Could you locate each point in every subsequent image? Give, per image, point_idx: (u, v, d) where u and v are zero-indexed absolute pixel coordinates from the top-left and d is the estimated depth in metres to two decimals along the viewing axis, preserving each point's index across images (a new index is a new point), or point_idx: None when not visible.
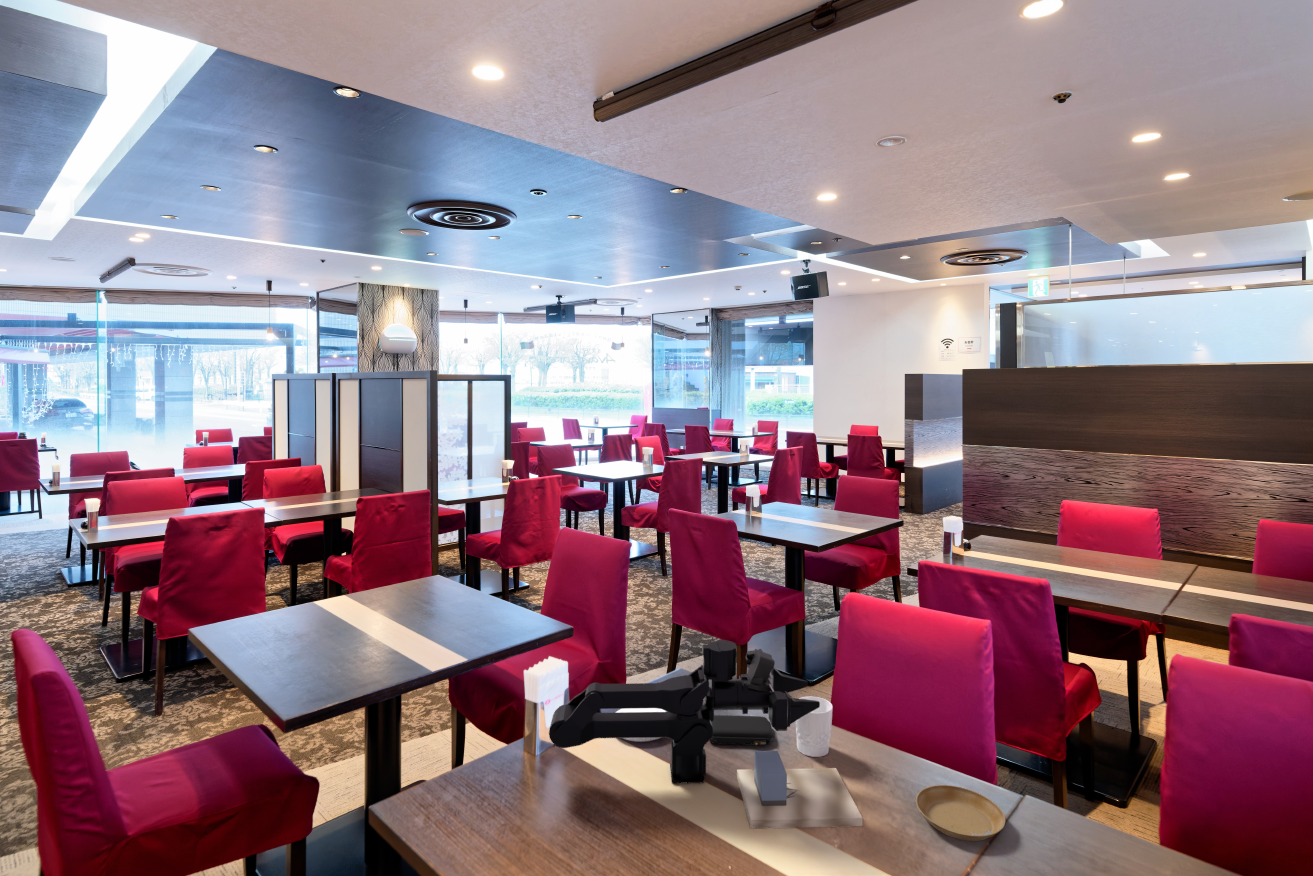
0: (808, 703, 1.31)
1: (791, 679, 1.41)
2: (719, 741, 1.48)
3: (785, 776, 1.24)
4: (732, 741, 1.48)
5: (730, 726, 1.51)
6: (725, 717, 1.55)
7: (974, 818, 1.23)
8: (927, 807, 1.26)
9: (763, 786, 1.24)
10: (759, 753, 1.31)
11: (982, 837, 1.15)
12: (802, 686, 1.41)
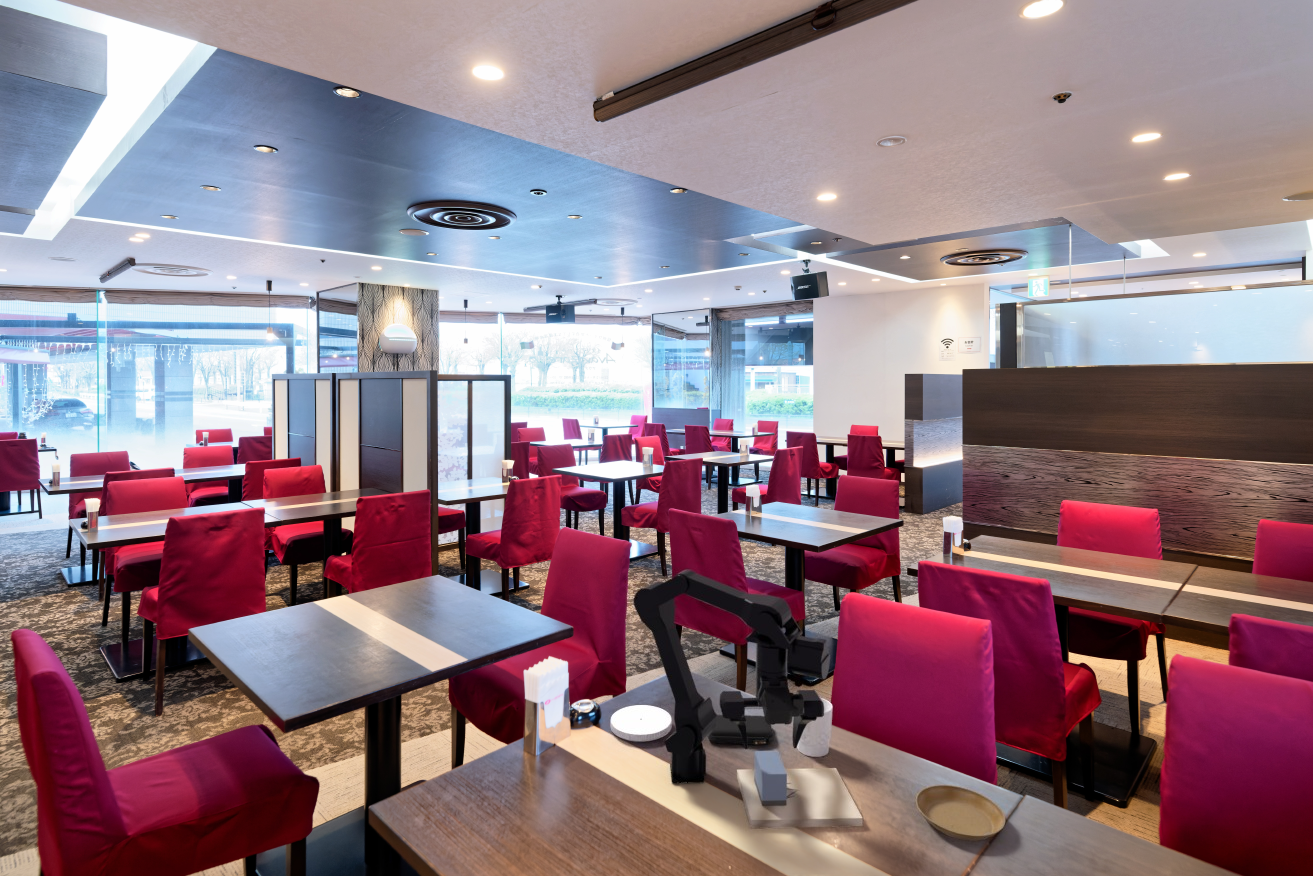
0: (742, 737, 1.27)
1: (796, 732, 1.27)
2: (719, 741, 1.48)
3: (785, 776, 1.24)
4: (732, 740, 1.48)
5: (730, 725, 1.52)
6: None
7: (974, 818, 1.23)
8: (927, 807, 1.26)
9: (763, 786, 1.24)
10: (759, 753, 1.31)
11: (982, 837, 1.15)
12: (793, 740, 1.28)
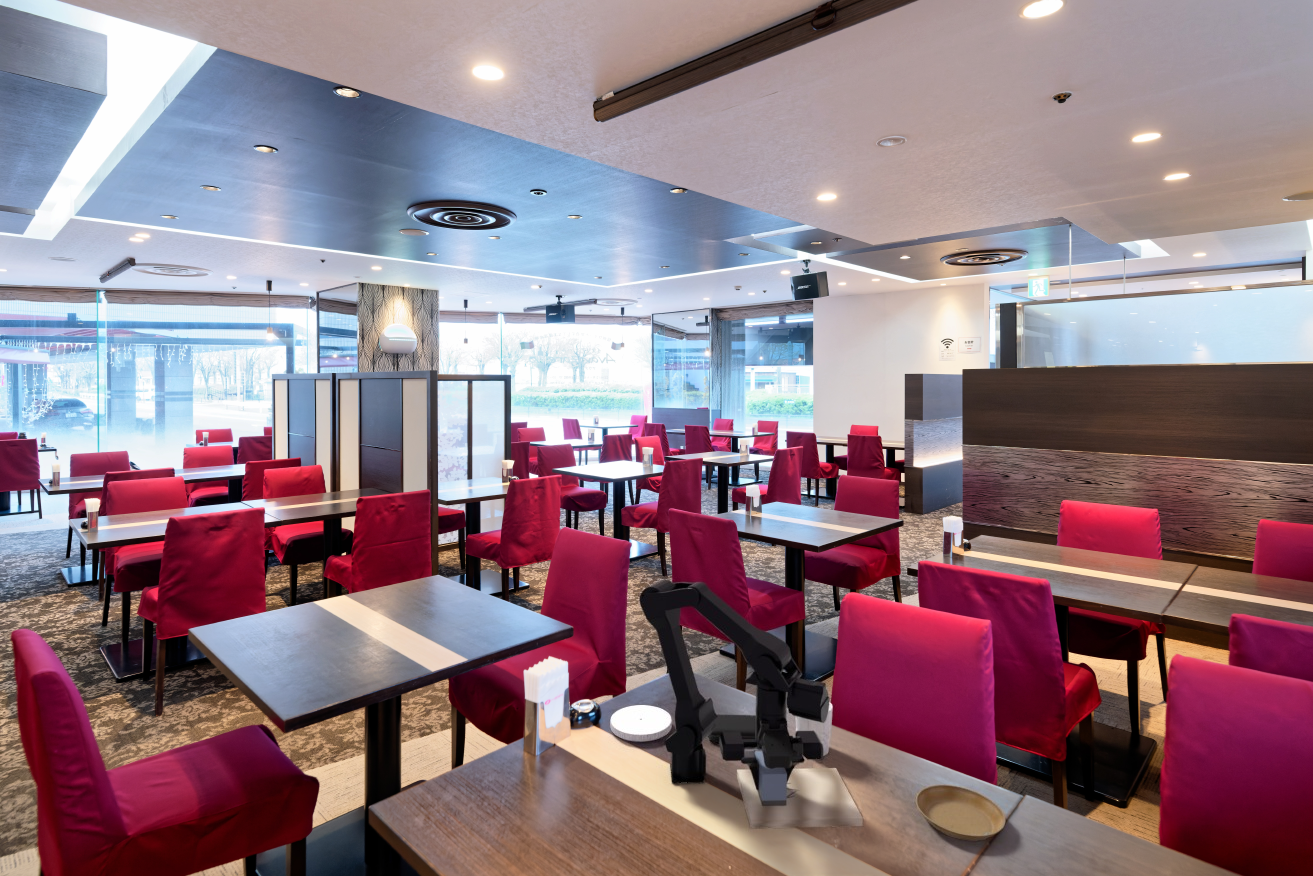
0: (753, 778, 1.27)
1: None
2: None
3: (785, 776, 1.24)
4: None
5: (730, 725, 1.52)
6: (725, 716, 1.56)
7: (974, 818, 1.23)
8: (927, 807, 1.26)
9: (763, 786, 1.24)
10: (759, 753, 1.31)
11: (982, 837, 1.15)
12: None
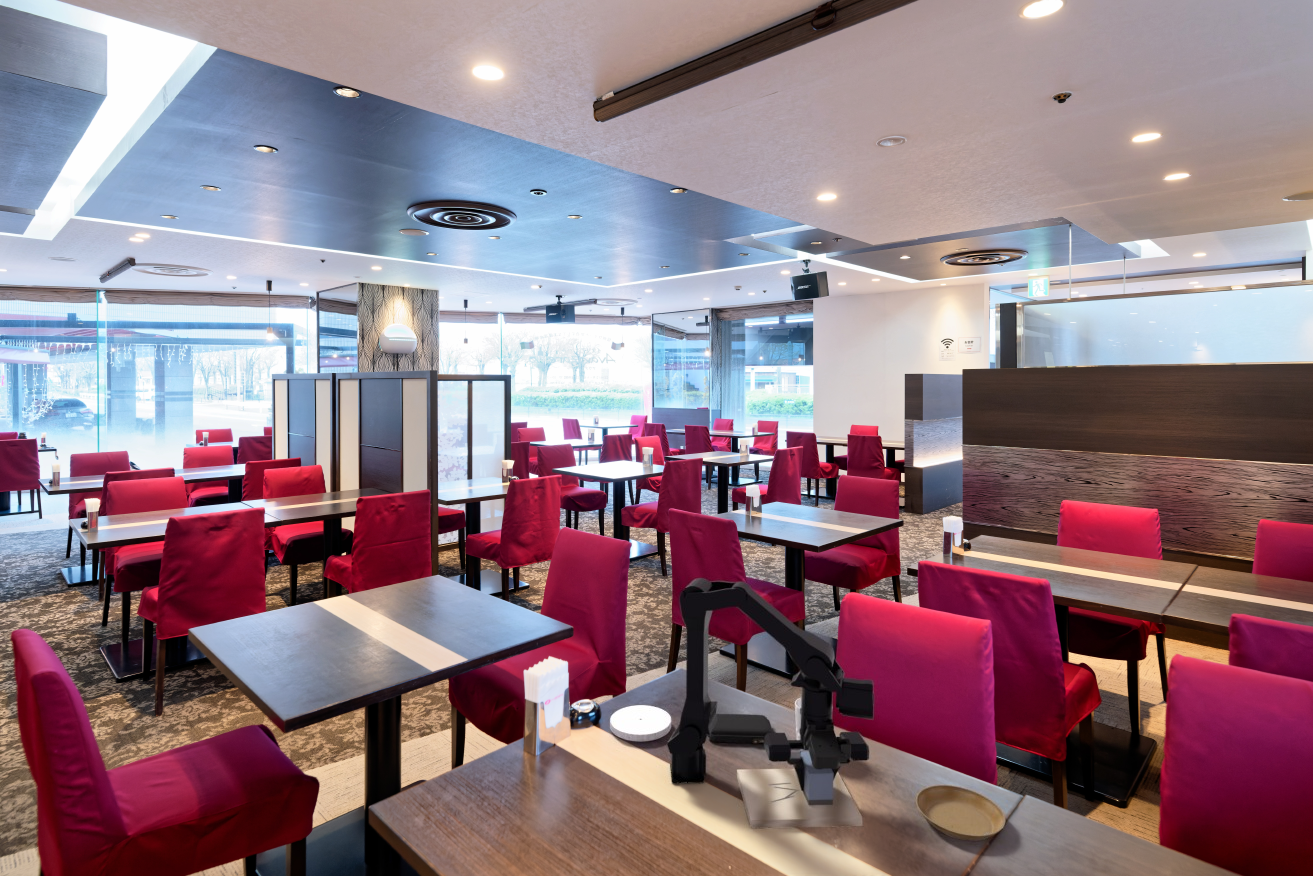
0: (798, 779, 1.28)
1: None
2: (718, 739, 1.49)
3: (832, 775, 1.24)
4: (731, 739, 1.49)
5: (730, 724, 1.52)
6: (725, 715, 1.56)
7: (974, 818, 1.23)
8: (927, 807, 1.26)
9: (810, 785, 1.24)
10: (803, 752, 1.31)
11: (982, 837, 1.15)
12: None
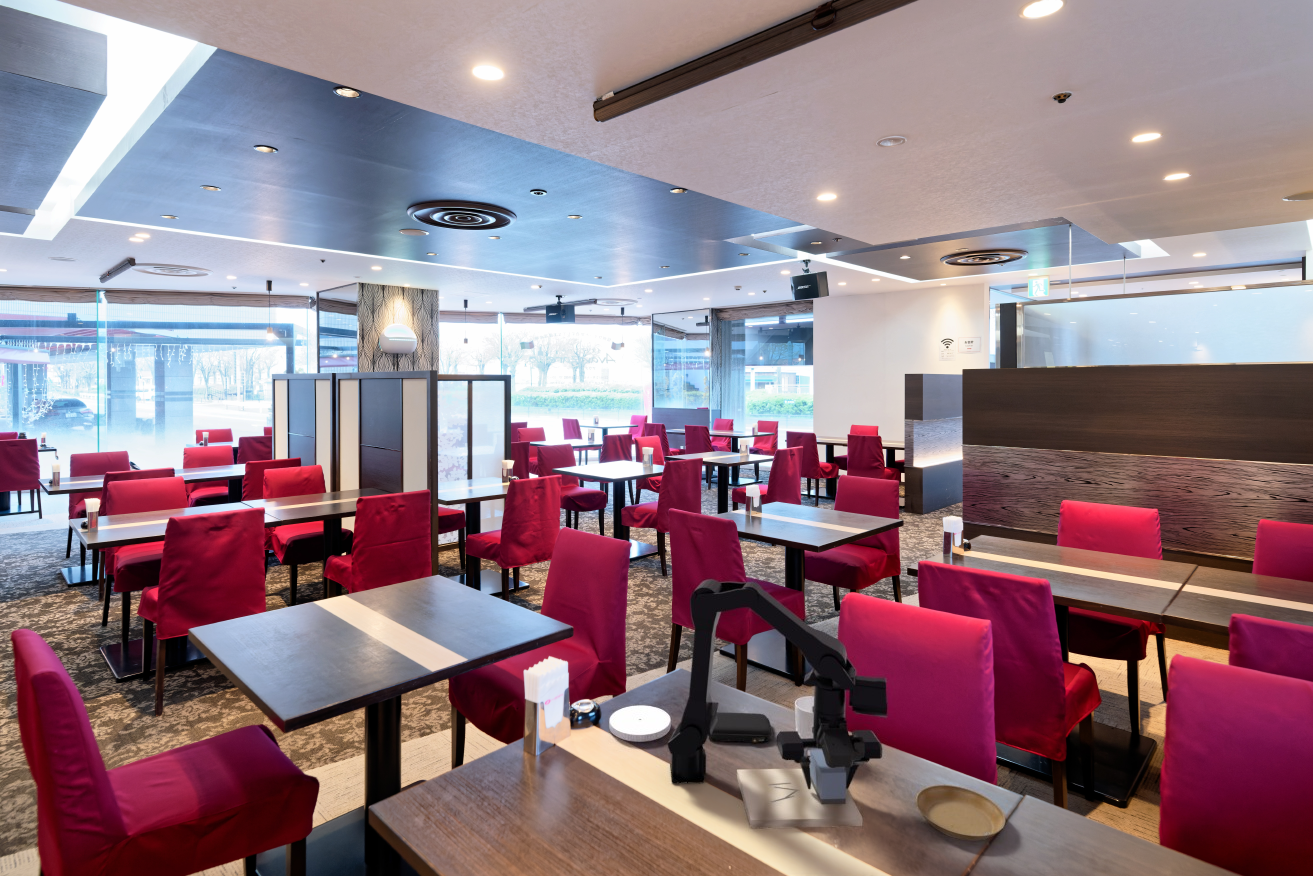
0: (805, 778, 1.28)
1: (848, 773, 1.28)
2: (718, 738, 1.50)
3: (844, 775, 1.25)
4: (731, 738, 1.49)
5: (729, 723, 1.53)
6: (724, 714, 1.57)
7: (974, 818, 1.23)
8: (927, 807, 1.26)
9: (822, 785, 1.25)
10: (815, 752, 1.31)
11: (982, 837, 1.15)
12: None
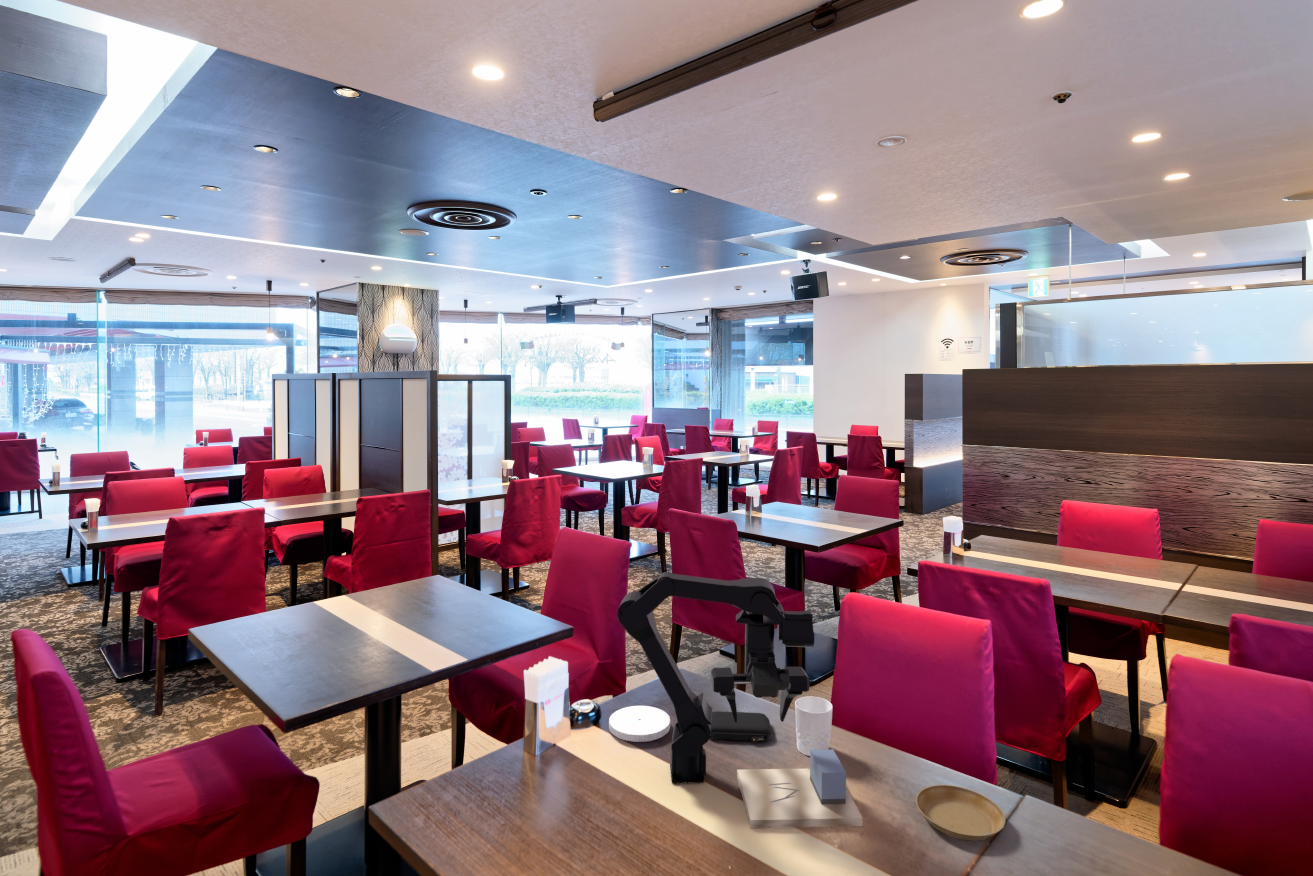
0: None
1: (783, 706, 1.33)
2: (717, 737, 1.50)
3: (844, 775, 1.25)
4: (730, 737, 1.50)
5: (729, 722, 1.53)
6: (724, 713, 1.57)
7: (974, 818, 1.23)
8: (927, 807, 1.26)
9: (822, 785, 1.25)
10: (815, 752, 1.31)
11: (982, 837, 1.15)
12: (780, 714, 1.35)
